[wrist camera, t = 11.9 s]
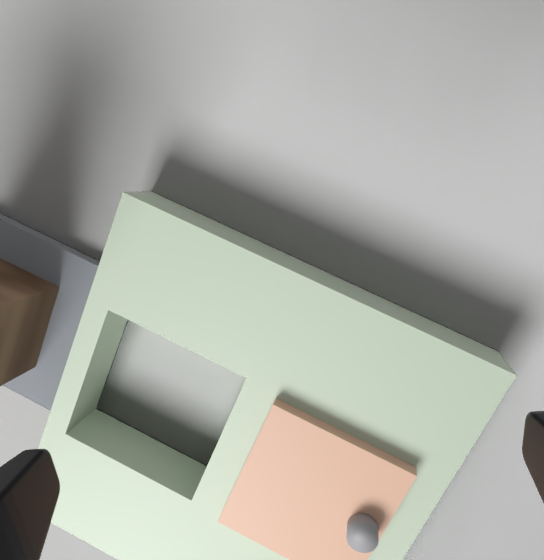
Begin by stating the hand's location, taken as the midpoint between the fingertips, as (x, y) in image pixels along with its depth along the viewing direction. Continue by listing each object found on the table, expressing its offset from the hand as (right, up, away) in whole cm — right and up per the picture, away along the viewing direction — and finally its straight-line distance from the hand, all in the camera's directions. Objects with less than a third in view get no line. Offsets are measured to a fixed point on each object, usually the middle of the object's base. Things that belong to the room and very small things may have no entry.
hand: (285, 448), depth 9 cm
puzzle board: (-1, -3, +13) cm, 14 cm away
